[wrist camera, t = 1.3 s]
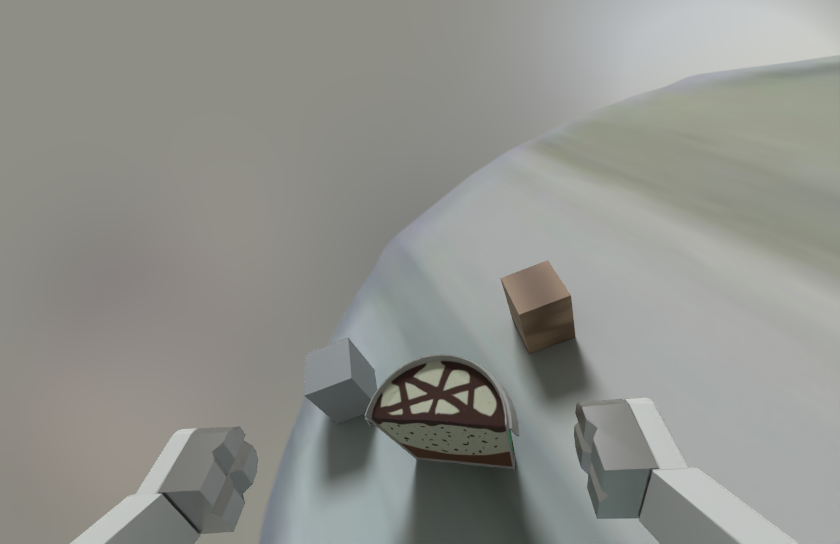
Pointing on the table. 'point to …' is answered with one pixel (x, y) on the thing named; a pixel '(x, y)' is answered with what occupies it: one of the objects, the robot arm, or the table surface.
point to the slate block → (339, 380)
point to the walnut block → (539, 306)
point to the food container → (447, 412)
